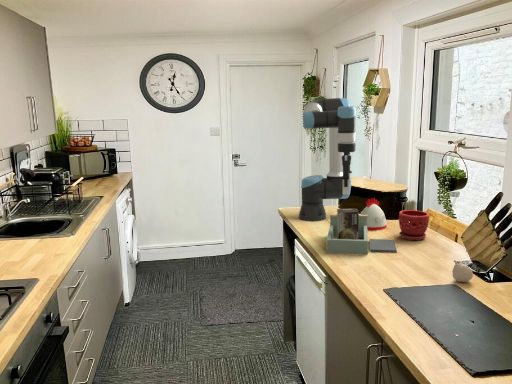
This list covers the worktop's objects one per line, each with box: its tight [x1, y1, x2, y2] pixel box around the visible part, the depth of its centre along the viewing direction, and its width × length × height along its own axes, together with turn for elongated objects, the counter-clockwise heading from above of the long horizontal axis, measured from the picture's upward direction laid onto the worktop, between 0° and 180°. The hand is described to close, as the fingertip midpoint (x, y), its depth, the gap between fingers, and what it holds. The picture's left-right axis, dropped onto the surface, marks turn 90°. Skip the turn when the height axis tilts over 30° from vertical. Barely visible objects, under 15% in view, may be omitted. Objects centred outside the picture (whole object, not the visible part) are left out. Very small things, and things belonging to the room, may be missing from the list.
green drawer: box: [326, 213, 369, 256], centre depth 204 cm, size 25×17×11 cm
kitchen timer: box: [360, 197, 387, 231], centre depth 230 cm, size 14×14×15 cm
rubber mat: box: [368, 238, 398, 254], centre depth 200 cm, size 15×11×1 cm
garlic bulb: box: [451, 259, 474, 283], centre depth 159 cm, size 7×6×8 cm
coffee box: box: [336, 208, 360, 240], centre depth 203 cm, size 9×6×16 cm
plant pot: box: [398, 209, 430, 241], centre depth 210 cm, size 13×13×12 cm
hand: (346, 191), depth 199 cm, fingers open, 13 cm apart
